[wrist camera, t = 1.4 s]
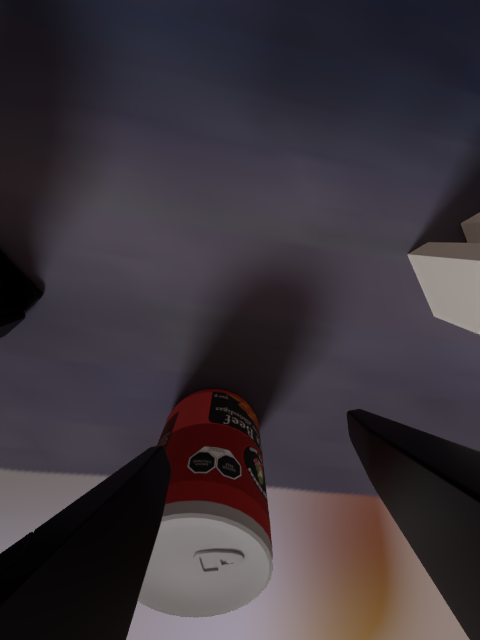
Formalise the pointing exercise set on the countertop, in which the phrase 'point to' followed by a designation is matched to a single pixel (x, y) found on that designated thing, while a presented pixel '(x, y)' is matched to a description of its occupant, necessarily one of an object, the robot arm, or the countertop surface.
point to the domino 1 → (450, 281)
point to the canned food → (211, 511)
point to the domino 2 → (472, 229)
